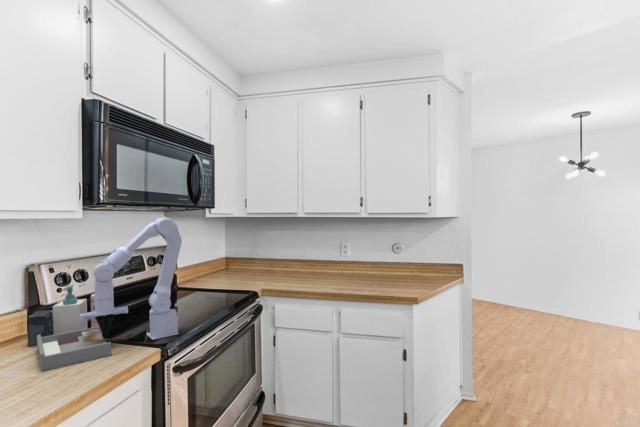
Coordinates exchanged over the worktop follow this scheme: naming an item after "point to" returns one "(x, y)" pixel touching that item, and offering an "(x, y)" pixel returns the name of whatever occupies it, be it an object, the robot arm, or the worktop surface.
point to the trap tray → (68, 349)
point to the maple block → (91, 337)
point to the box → (39, 325)
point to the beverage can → (93, 320)
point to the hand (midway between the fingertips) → (105, 336)
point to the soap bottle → (69, 313)
